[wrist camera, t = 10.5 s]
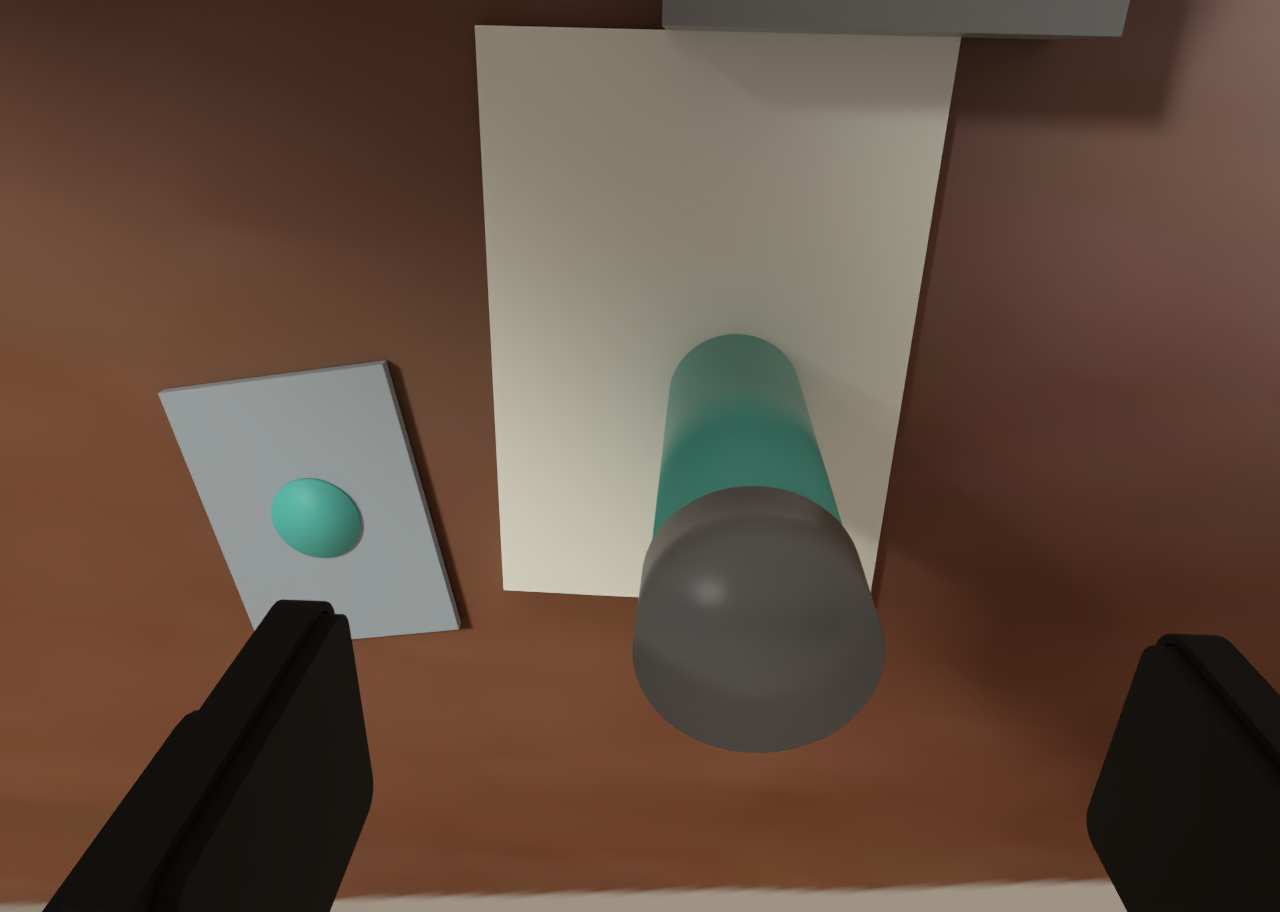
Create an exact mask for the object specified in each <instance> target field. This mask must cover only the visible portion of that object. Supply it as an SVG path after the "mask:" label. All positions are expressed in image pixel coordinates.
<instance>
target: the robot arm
mask: <svg viewBox="0 0 1280 912" xmlns="http://www.w3.org/2000/svg"><path fill="white" fill-rule="evenodd" d="M372 795H373V775H372V769H371V762H370V756H369V749H368V743H367V736H366V730H365V723H364V717H363V710H362V704H361V697H360V691H359V684H358V678H357V671H356V665H355V658H354V652H353V645H352V639H351V632H350V626H349V621H348V618H347V617H346V615H344V614H335V612H334V608H333V606H332V605H331V603H329V602H327V601H310V600H284V599H282V600H279V601H277V602H276V603H275V604H274V605H273V606H272V607H271V608H270V610H269V611H268V613H267V614H266V616H265V617H264V618H263V620H262V621H261V623H260V624H259V625H258V627H257V628H256V630H255V631H254V633H253V634H252V635H251V637H250V638H249V640H248V641H247V642H246V644H245V645H244V647H243V648H242V650H241V651H240V652H239V654H238V655H237V657H236V658H235V660H234V661H233V662H232V664H231V665H230V667H229V668H228V669H227V671H226V672H225V674H224V675H223V677H222V678H221V679H220V681H219V682H218V684H217V685H216V686H215V688H214V689H213V691H212V692H211V694H210V695H209V696H208V698H207V699H206V701H205V702H204V703H203V705H202V706H201V708H200V709H199V710H195V711H193V712H192V713H190V714H188V715H186V716H185V717H184V718H183V719H182V720H181V721H180V722H179V723H178V725H177V726H176V727H175V728H174V730H173V731H172V732H171V734H170V735H169V737H168V738H167V739H166V741H165V742H164V744H163V745H162V746H161V748H160V749H159V751H158V752H157V753H156V755H155V756H154V757H153V759H152V760H151V762H150V763H149V764H148V766H147V767H146V769H145V770H144V771H143V773H142V774H141V775H140V777H139V778H138V780H137V781H136V782H135V784H134V785H133V787H132V788H131V789H130V791H129V792H128V793H127V795H126V796H125V798H124V799H123V800H122V802H121V803H120V805H119V806H118V807H117V809H116V810H115V811H114V813H113V814H112V816H111V817H110V818H109V820H108V821H107V823H106V824H105V825H104V827H103V828H102V829H101V831H100V832H99V834H98V835H97V836H96V838H95V839H94V841H93V842H92V843H91V845H90V846H89V848H88V849H87V850H86V852H85V853H84V854H83V856H82V857H81V859H80V860H79V861H78V863H77V864H76V866H75V867H74V868H73V870H72V871H71V872H70V874H69V875H68V877H67V878H66V879H65V881H64V882H63V884H62V885H61V886H60V888H59V889H58V890H57V892H56V893H55V895H54V896H53V897H52V899H51V900H50V902H49V903H48V904H47V906H46V907H45V908H44V910H43V911H42V912H330V910H331V907H332V905H333V902H334V899H335V897H336V894H337V892H338V889H339V887H340V884H341V882H342V879H343V876H344V874H345V871H346V869H347V866H348V864H349V861H350V859H351V856H352V853H353V851H354V848H355V846H356V843H357V841H358V838H359V836H360V833H361V830H362V828H363V825H364V823H365V820H366V818H367V815H368V812H369V809H370V806H371V801H372ZM1087 829H1088V833H1089V837H1090V840H1091V842H1092V845H1093V847H1094V849H1095V851H1096V853H1097V854H1098V856H1099V858H1100V860H1101V862H1102V864H1103V866H1104V868H1105V870H1106V872H1107V874H1108V875H1109V877H1110V879H1111V881H1112V883H1113V885H1114V886H1115V889H1116V891H1117V893H1118V895H1119V896H1120V898H1121V900H1122V902H1123V904H1124V906H1125V908H1126V910H1127V912H1280V695H1279V694H1278V693H1277V692H1276V691H1275V690H1274V689H1273V688H1272V686H1271V685H1270V684H1269V683H1268V682H1267V681H1266V680H1265V679H1264V678H1263V677H1262V676H1261V675H1260V674H1259V672H1258V671H1257V670H1256V669H1255V668H1254V667H1253V666H1252V665H1251V664H1250V663H1249V662H1248V661H1247V660H1246V658H1245V657H1244V656H1243V655H1242V654H1241V653H1240V652H1239V651H1238V650H1237V649H1236V648H1235V647H1234V646H1233V644H1232V643H1230V642H1229V641H1228V640H1227V639H1225V638H1224V637H1220V636H1217V635H1191V634H1167V635H1163V636H1162V637H1161V638H1160V639H1159V640H1158V642H1157V644H1156V645H1155V646H1149V647H1147V648H1146V649H1145V650H1144V652H1143V653H1142V655H1141V658H1140V661H1139V664H1138V667H1137V669H1136V672H1135V675H1134V678H1133V681H1132V684H1131V687H1130V689H1129V692H1128V695H1127V698H1126V701H1125V704H1124V707H1123V710H1122V712H1121V715H1120V718H1119V721H1118V724H1117V727H1116V730H1115V732H1114V735H1113V738H1112V741H1111V744H1110V747H1109V750H1108V752H1107V755H1106V758H1105V761H1104V764H1103V767H1102V770H1101V773H1100V775H1099V778H1098V781H1097V784H1096V787H1095V790H1094V793H1093V795H1092V798H1091V801H1090V804H1089V807H1088V811H1087Z"/></svg>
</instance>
